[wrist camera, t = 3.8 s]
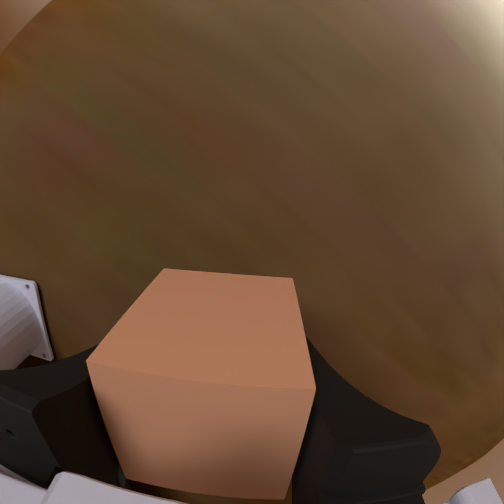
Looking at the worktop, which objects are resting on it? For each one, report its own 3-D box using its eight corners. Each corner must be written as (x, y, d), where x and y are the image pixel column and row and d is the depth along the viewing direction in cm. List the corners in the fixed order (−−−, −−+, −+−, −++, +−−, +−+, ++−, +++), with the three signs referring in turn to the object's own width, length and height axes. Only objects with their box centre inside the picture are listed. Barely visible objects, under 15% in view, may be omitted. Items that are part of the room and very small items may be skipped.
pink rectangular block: (170, 370, 14) (126, 478, 8) (164, 268, 13) (85, 360, 6) (279, 380, 14) (284, 499, 8) (292, 278, 12) (316, 388, 6)
